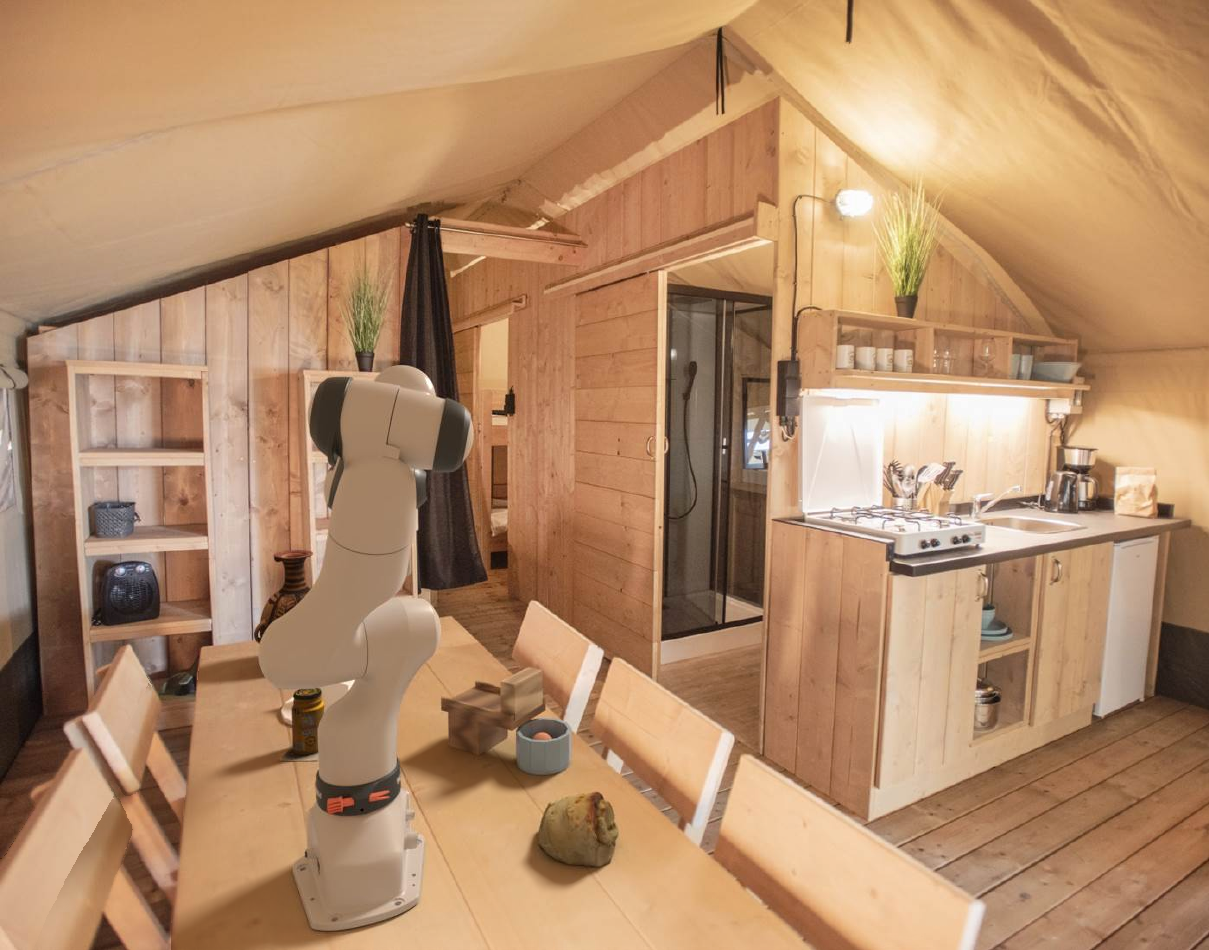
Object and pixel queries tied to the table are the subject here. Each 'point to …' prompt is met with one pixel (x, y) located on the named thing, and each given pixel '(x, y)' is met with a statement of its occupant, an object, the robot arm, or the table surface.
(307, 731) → the condiment
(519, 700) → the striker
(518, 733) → the cup
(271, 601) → the vase
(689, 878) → the table surface
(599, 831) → the pastry
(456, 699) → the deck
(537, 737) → the ball
